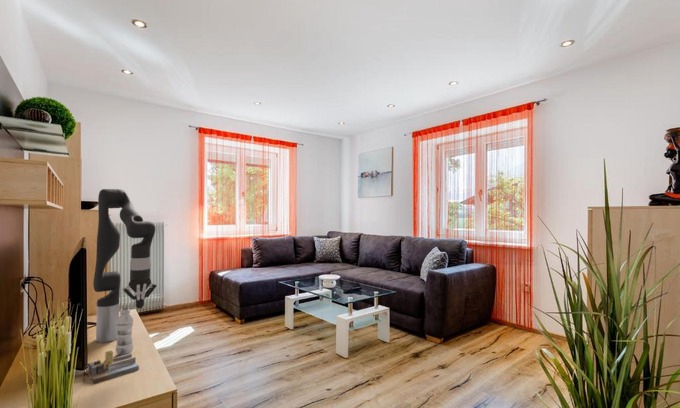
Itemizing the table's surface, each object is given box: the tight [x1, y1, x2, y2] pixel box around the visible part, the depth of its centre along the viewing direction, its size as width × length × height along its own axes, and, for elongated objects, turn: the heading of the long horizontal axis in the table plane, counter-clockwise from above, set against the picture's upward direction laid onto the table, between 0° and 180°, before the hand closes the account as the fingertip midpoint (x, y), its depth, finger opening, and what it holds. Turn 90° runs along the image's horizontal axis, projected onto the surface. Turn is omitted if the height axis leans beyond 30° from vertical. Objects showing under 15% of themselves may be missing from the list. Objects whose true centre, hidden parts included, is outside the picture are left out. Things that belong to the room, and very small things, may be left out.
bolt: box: [95, 350, 114, 372], centre depth 133 cm, size 3×6×6 cm, turn 138°
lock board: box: [85, 352, 140, 384], centre depth 135 cm, size 14×15×4 cm
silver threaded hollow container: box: [115, 307, 134, 356], centre depth 150 cm, size 6×7×20 cm
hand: (139, 308), depth 144 cm, fingers closed
